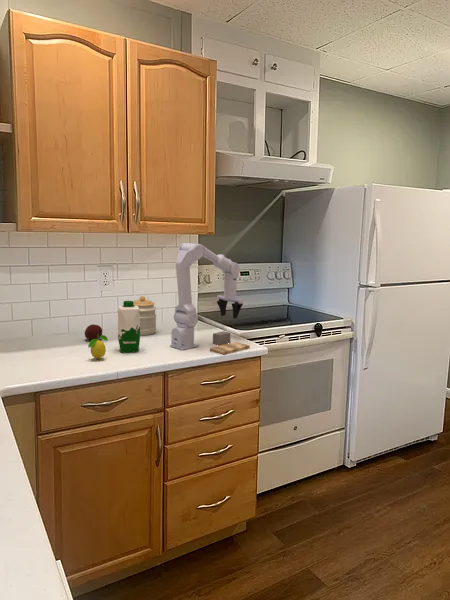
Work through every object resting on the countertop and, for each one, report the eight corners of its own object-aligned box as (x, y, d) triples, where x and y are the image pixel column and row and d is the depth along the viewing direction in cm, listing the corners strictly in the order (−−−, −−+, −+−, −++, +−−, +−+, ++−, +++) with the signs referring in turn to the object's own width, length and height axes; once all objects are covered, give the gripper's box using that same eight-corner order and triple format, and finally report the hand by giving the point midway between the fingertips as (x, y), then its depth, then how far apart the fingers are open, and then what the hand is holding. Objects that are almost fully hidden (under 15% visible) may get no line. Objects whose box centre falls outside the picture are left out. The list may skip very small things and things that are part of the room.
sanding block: (219, 346, 204) (219, 335, 203) (212, 344, 206) (212, 333, 205) (230, 343, 209) (230, 332, 208) (223, 342, 211) (224, 331, 210)
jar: (144, 337, 215) (144, 299, 212) (122, 333, 221) (122, 296, 219) (161, 332, 226) (162, 296, 223) (140, 328, 233) (140, 293, 230)
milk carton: (138, 347, 198) (138, 300, 195) (140, 352, 189) (140, 304, 186) (117, 347, 196) (117, 300, 192) (118, 353, 187) (118, 304, 184)
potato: (105, 340, 207) (105, 325, 206) (88, 343, 202) (88, 327, 201) (98, 337, 212) (98, 322, 211) (81, 339, 208) (81, 324, 207)
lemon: (108, 356, 182) (108, 331, 181) (106, 361, 177) (106, 335, 175) (90, 357, 181) (90, 331, 180) (88, 361, 176) (87, 335, 174)
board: (223, 354, 190) (223, 351, 190) (210, 350, 195) (210, 348, 195) (249, 348, 201) (249, 345, 201) (235, 344, 207) (236, 341, 207)
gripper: (247, 289, 214) (246, 318, 216) (224, 285, 223) (223, 313, 225) (237, 290, 208) (236, 320, 211) (214, 286, 218) (213, 315, 220)
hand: (229, 316), depth 218 cm, fingers open, 7 cm apart
